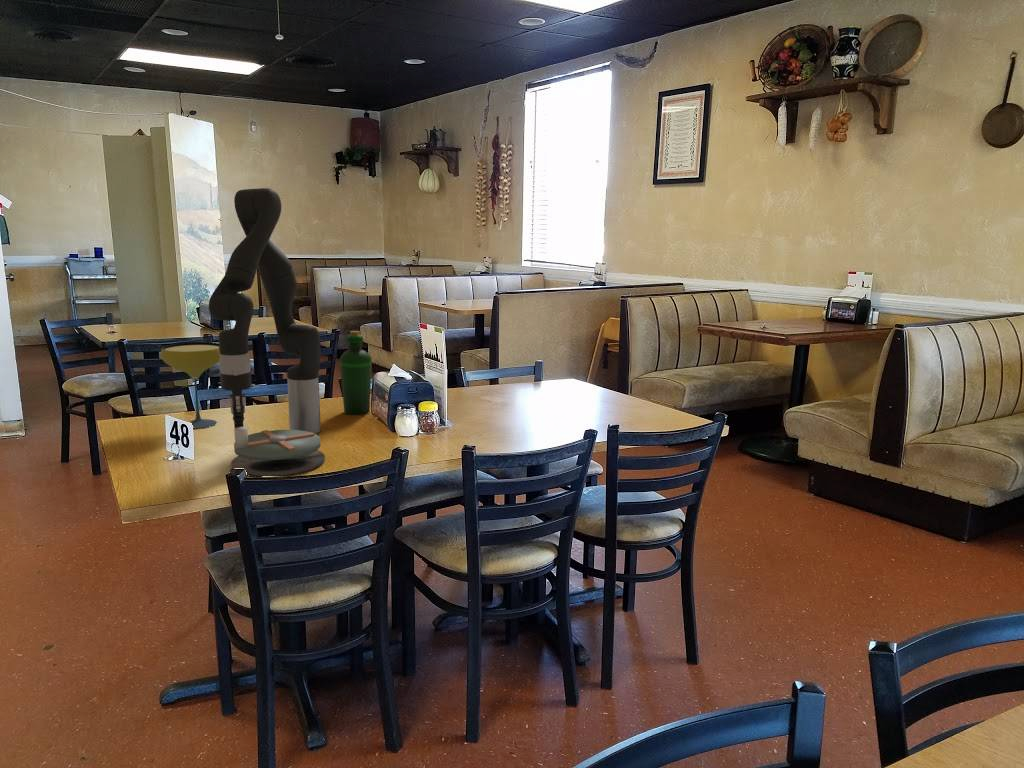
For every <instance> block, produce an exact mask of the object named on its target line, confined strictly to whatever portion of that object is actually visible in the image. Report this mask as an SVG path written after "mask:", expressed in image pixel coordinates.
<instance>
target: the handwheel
mask: <svg viewBox="0 0 1024 768" xmlns="http://www.w3.org/2000/svg"><path fill="white" fill-rule="evenodd" d="M248 430H249V429H248V427H247V426H243V427H237V428H234V430H233V431H234V432H233V433H234V442H233V448H234V454H235V455H237V456H240V457H243V458H247V459H253V460H283V459H291V458H296V457H301V456H305V455H308V454H310V453H313V452H315V451H316V450H319V449H320V447H321V437H320V436H319V435H318V433H316V434H314V433H311V432H307V431H300V430H290V429H275V430H269V429H265V430H261V431H260V432H254V433H251V434H249V432H248Z"/></svg>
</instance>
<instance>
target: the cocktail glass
mask: <svg viewBox="0 0 1024 768" xmlns="http://www.w3.org/2000/svg"><path fill="white" fill-rule="evenodd" d="M160 355H161V359H162V361H163V362H164V363H165V364H166V365H167V366H170V367H172V368H175V369H177V370H179V371H182V372H183V373H184V372H185V373H186V374H187V375H188V376H189V377H190V378H191V379H192V380H194V392H195V393H194V394H195V409H196V410H195V412H196V413H195V419H192V421H190V420H189V421H190V422H191V423H192V425H193V427H194V429H193V430H197V429H196V428H202V429H206V428H205V427H208V428H210V427H209V426H212V427H214V426H216V425H217V424H216V423H218V421H216V420H215V419H205V418H202V417H201V413H200V409H199V408H200V407H199V397H198V382H197V380H198V379H199V378H200V377H201V376H202V374H203V372H205V371H207V370H209V369H210V368H212V367H214V366H216V365H217V364H219V358H220V351H219V343H216V342H205V341H202V342H184V343H175V344H169V345H168V344H167V345H165V346H163V347H161V351H160ZM215 424H216V425H215ZM213 425H214V426H213Z"/></svg>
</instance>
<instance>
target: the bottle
mask: <svg viewBox="0 0 1024 768" xmlns="http://www.w3.org/2000/svg"><path fill="white" fill-rule="evenodd" d="M349 333H350V334H348V335H347V339H346V343H347V344H348V349H347V350H345V351H344V352H343V353H342V354H341V356H340V358H339V367H340V376H341V377H340V379H341V380H340V381H341V389H342V400H343V411H344V413H346V414H347V415H352V416H354V415H356V416H358V415H359V416H360V415H364V414H368V413H369V412H370V411H371V388H372V387H371V384H372V383H371V382H372V356H371V355H370V354H369V352H367V351H366V350H364V349H362V347H363V345H362V344H363V343H364V339H363V337H364V336H363V335H362V334H360V333H361V331H360V330H350V331H349Z"/></svg>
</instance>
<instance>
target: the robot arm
mask: <svg viewBox="0 0 1024 768" xmlns="http://www.w3.org/2000/svg"><path fill="white" fill-rule="evenodd" d="M233 202H234V209H235V213H236V216H237V218H238V221H239V224H240V226H241V228H242V229H243V232H244V235H245V238H243V240H242V241H241V242H240V243H239V244H238V245H237V246H236V247H234V250H233V251H232V254H231V255H230V257H229V260H228V264H227V266H226V270H225V274H224V276H223V277H222V279H221V280H220V282H219V283H218V284H217V286H216V288H215V289H214V291H213V293H212V294H211V295H210V297H209V298H210V299H209V302H208V311H209V314H210V315H211V317H212V318H214V320H217V321H235V323H234V325H233V328H228V329H223V330H221V331H219V334H218V344H219V351H220V358H219V363H218V364H219V365H218V366H219V367H218V368H219V379H220V381H219V382H220V388H221V389H222V390H223V391H227V392H228V391H231V393H228V401H229V405H230V412H231V414H232V421H233V425H234V429H235V428H237V427H244V420H245V415H244V414H245V413H246V407H245V405H246V393H243V390H245V391H246V390H248V389H251V388H252V370H251V369H252V368H251V358H250V353H249V352H250V351H249V349H250V348H249V332H250V328H251V321H252V318H253V314H254V309H255V308H254V302H253V299H252V298H251V297H250V295H248V294H246V293H243V292H245V291H248V290H250V289H252V287H253V284H254V281H255V277H256V274H257V270H258V274H259V276H260V279H261V282H262V285H263V288H264V290H265V293H266V296H267V299H268V302H269V306H270V308H271V309H270V310H271V313H272V316H273V320H274V324H275V329H276V334H277V338H278V342H279V346H280V348H281V349H282V351H283V352H284V353H285V354H288V355H291V356H299V357H300V358H299V363H298V364H296V365H293V366H290V367H288V368H287V370H286V375H287V380H286V381H287V398H288V421H289V430H300V431H307V432H311V433H314V434H318V433H320V432H321V407H320V406H321V405H320V403H321V402H320V381H319V380H320V379H319V372H320V368H321V367H320V366H321V347H322V346H321V345H322V343H321V341H322V340H321V334H320V332H319V330H318V328H317V327H315V326H313V325H307V324H297V323H296V320H295V319H294V316H293V311H292V307H293V306H292V305H293V302H294V299H295V296H296V293H297V289H298V282H297V277H296V275H295V272H294V268H293V267H294V266H293V265H292V262H291V261H290V259H289V258H288V256H287V255H286V253H284V252H283V251H282V250H281V249H280V248H279V247H278V246H277V245H276V244H275V243H274V242H273V241H272V240H271V239H270V238H271V236H272V234H273V232H274V230H275V228H276V225H277V224H278V223H279V220H280V217H281V213H282V201H281V198H280V195H279V194H278V192H277V191H276V190H275V189H273V188H271V187H269V188H267V187H266V188H265V187H263V188H261V187H259V188H246V189H239V190H237V192H235V195H234V200H233Z"/></svg>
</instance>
